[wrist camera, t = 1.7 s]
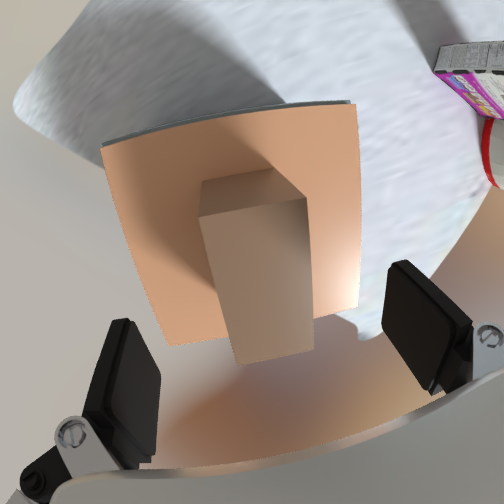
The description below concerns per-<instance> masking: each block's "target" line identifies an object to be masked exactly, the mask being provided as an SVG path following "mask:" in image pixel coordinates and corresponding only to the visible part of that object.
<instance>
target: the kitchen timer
mask: <svg viewBox="0 0 504 504" xmlns="http://www.w3.org/2000/svg"><path fill="white" fill-rule="evenodd" d="M481 147H482V161H483V165H484V170H485V173H486V175H487V177H488V180H489V181H490V182H491V183H492V184H493V185H494V186H496V187H498V188H500V189H502V190H504V120H498V119H494V118H489V117H487V119H486V121H485V125H484V129H483V134H482V146H481Z"/></svg>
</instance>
